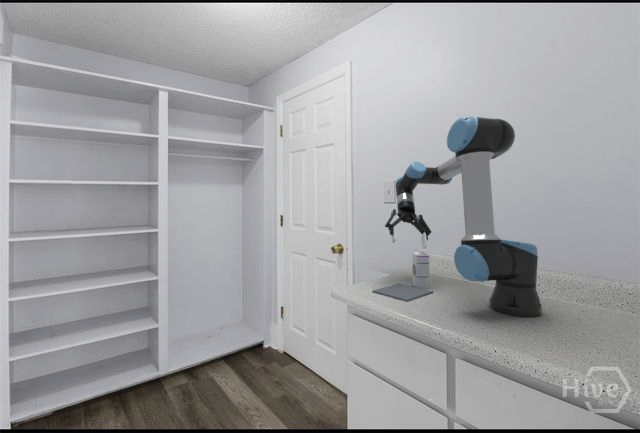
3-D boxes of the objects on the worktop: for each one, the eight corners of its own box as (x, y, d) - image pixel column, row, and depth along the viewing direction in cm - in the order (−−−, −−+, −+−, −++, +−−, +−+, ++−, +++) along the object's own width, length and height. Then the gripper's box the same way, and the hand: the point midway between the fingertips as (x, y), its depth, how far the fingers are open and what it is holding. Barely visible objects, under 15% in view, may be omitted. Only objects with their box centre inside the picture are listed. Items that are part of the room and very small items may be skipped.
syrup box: (429, 288, 133) (430, 254, 133) (415, 288, 133) (416, 254, 133) (425, 285, 139) (426, 252, 138) (411, 285, 139) (412, 251, 138)
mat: (399, 284, 140) (399, 283, 139) (433, 292, 128) (433, 291, 127) (372, 292, 128) (372, 290, 128) (407, 301, 116) (407, 300, 116)
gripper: (427, 215, 151) (433, 253, 138) (376, 204, 148) (378, 243, 135) (435, 205, 145) (442, 244, 132) (382, 194, 142) (384, 233, 129)
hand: (409, 244), depth 134 cm, fingers open, 13 cm apart
